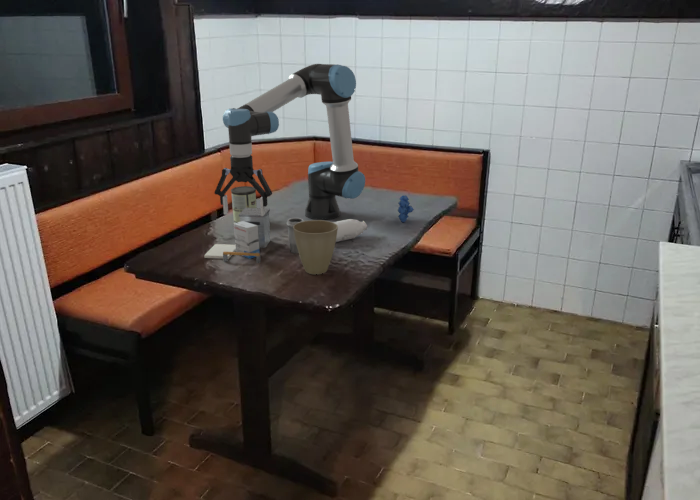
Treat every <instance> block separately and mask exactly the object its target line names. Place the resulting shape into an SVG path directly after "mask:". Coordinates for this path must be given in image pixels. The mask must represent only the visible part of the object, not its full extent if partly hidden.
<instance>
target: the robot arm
mask: <svg viewBox="0 0 700 500" xmlns="http://www.w3.org/2000/svg"><path fill="white" fill-rule="evenodd" d="M356 87H357V79H356V76H355V74H354V72H353V70H352V69H351V68H350V67H349V66H347V65H342V64H334V63H333V64H332V63H331V64H329V63H313V64H311V65H308V66H307V65H306V66H305V67H303V68H301V69H299V70H297V71H295V72H294V73H292V74H290V75H289V76H288V78H287V79H286V80H285V81H283V82H282V83H280V84H278V85H276V86H275V87H272V88H271V89H269V90H267V91H266V92H264V93H262V94H261V95H259V96H257V97H255V98H252V100H250V101H248V102H246V103H245V104H243V105H241V106H240V107H237V108H235V107H233V108H228V109H225V111H224V113H223V116H222V121H223V125H224V126H225V127H226V128H227V130H228V140H229V143H228V144H229V154H230V157H229V159H230V161H229V162H230V169H229V168H227V167H224V168H222V169H221V176H220V179H219V181H218V183H217V186H216V188H215V190H214V192H213V194H214V195H218V196H219V199H220V200H219V201H220V203H219V204H220V206H222V207H223V215H227V214H228V213H229V204H228V203H229V202H228V194H226V193H227V192H228V191H229V189H230V188H231V187H232V186H233V184H234V183H235V182H237V183H248V184H249V185H251V187H254V188H255V189H256V192H257V193H258V194H259V195H260V196H261V197H260V198H259V199H260V200H259V201H260V202H259V203H260V208H261V216H264V215H265V209H266V207H267V206H268V197H271V196H272V195H273V191H272V190H271V187H270V185H269V184H268V182H267V180H266V178H265V177H264V175H263V170H262V169H261V168H259V169H254V167H253V166H254V164H253V156H252V154H253V144H252V143H253V142H252V137H256V136H263V135H270V134H273V133H276V132H277V130H278V129H279V126H280V123H279V121H280V120H279V117H278V116H277V115H278V114H276V113H275V112H276V111H277V110H279V109H280V108H283V106H285V105H287V104H289V103H290V102H292V101H294V100H295V99H297V98H300V99H301V98H304V97H306V96H309V95H320V98H321V103H322V104H323V105H324V106H326V113H327V114H326V115H327V116H326V117H327V123H328V132H329V141H330V148H331V156H332V161H321V162H320V161H319V162H313V163H311V164H309V166H308V168H307V170H308V171H307V172H308V173H307V179H308V181H307V183H308V185H307V186H308V199H307V203H306V206H305V209H304V210H305V211H304V214H305V217H307V218H309V219H311V220H331V219H335V218H337V217H339V216H340V207H339V204H338V200H337V198H336V196H337V197H341V198H344V199H350V200H351V199H357V198H358V197H359V196H360V195H361V194H362V193H363V191H364V188H365V186H366V176H365V174H364V173H363V172H362V171H360V170H359V163H357V162H356V161H355V160H354V159H355V158H354V151H353V149H354V148H353V141H352V131H351V122H350V112H349V110H350V109H349V103H350V101H351V100H352V96H353V95H354V93H355V92H356V91H355V89H356ZM229 174H230V175H231V177H232V178H230V180H229V181H228V183H227V184H226V185H225V186H224V183H225V180H226V178H227V176H228V175H229ZM254 174H255V176H256V177H257V178H258V180H259V182H260V184H261V185H260V184H259V183H258V182H257V181H256V179H255V177H254ZM223 186H224V188H223Z"/></svg>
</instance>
